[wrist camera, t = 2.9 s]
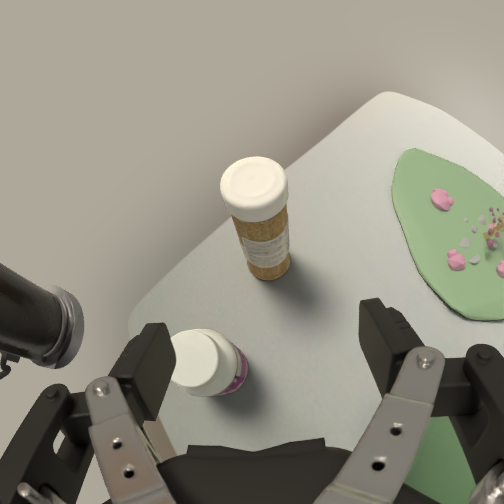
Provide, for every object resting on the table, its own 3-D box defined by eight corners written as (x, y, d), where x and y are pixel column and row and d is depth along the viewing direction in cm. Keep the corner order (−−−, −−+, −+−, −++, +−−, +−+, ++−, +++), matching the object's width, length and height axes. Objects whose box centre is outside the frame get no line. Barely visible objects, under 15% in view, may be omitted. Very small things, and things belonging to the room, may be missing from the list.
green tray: (470, 510, 15) (481, 516, 13) (377, 500, 19) (384, 509, 16) (516, 396, 20) (530, 394, 17) (434, 372, 24) (446, 370, 21)
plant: (341, 207, 33) (352, 152, 25) (426, 134, 37) (441, 88, 29) (490, 358, 23) (542, 342, 15) (543, 244, 27) (577, 212, 18)
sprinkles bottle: (253, 239, 33) (228, 151, 21) (294, 245, 32) (292, 156, 20) (242, 278, 31) (209, 202, 19) (286, 285, 30) (280, 211, 18)
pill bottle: (201, 400, 26) (160, 403, 17) (189, 349, 28) (146, 329, 20) (255, 387, 26) (237, 388, 17) (241, 335, 28) (217, 311, 20)
